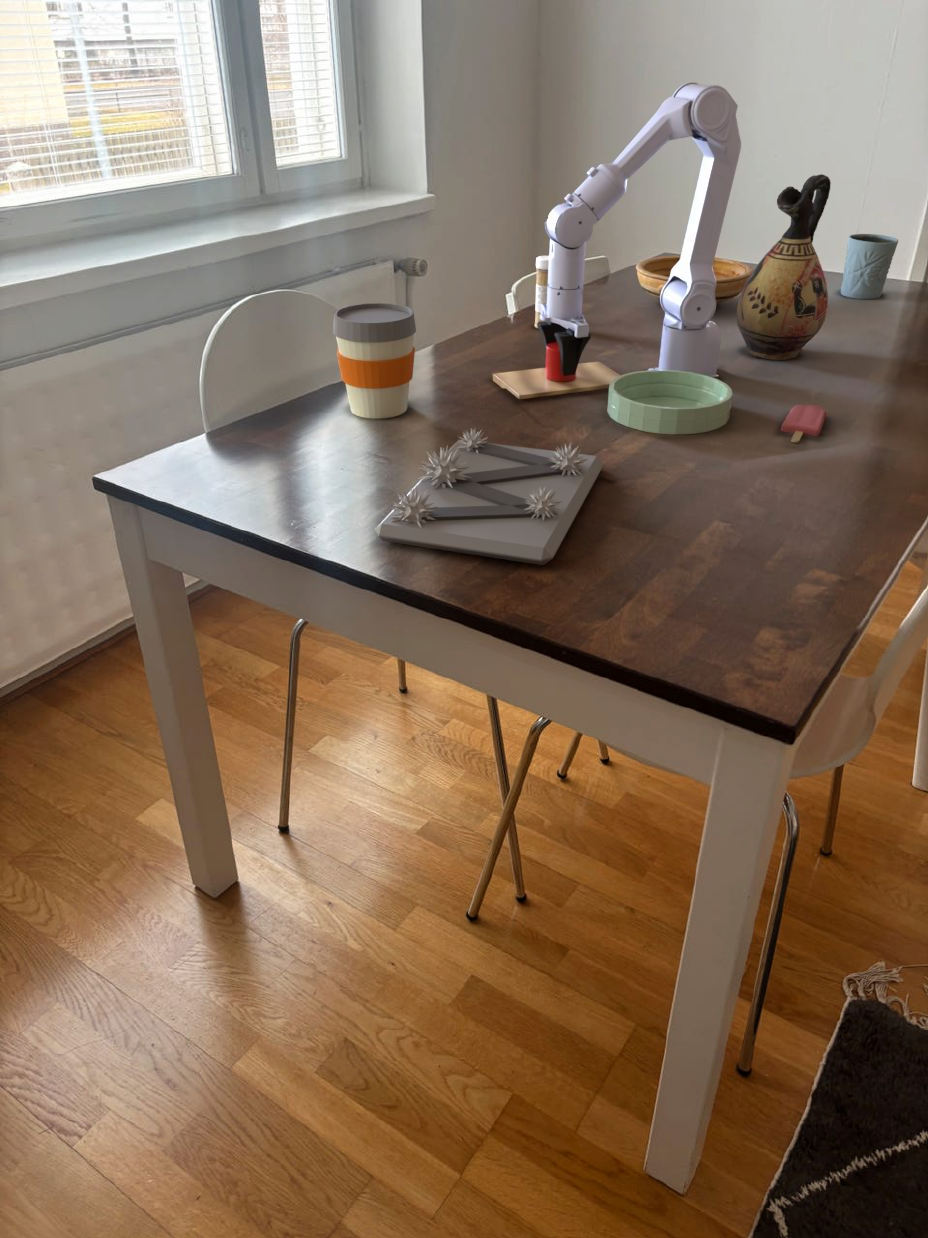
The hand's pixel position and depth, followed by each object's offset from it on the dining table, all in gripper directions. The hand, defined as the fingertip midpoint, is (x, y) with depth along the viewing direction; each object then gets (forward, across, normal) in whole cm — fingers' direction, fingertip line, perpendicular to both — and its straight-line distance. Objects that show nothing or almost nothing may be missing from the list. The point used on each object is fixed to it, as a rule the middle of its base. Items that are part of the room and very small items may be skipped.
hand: (561, 369), depth 160 cm
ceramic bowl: (+3, -39, +48) cm, 62 cm away
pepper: (+1, 0, 0) cm, 1 cm away
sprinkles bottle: (+3, -34, +12) cm, 36 cm away
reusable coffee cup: (+3, +1, -32) cm, 32 cm away
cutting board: (+2, 0, 0) cm, 2 cm away
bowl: (+2, +20, +9) cm, 22 cm away
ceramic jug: (+3, -3, +45) cm, 45 cm away
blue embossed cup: (+3, -34, +89) cm, 95 cm away
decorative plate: (+3, +41, -27) cm, 49 cm away
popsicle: (+3, +32, +25) cm, 41 cm away
